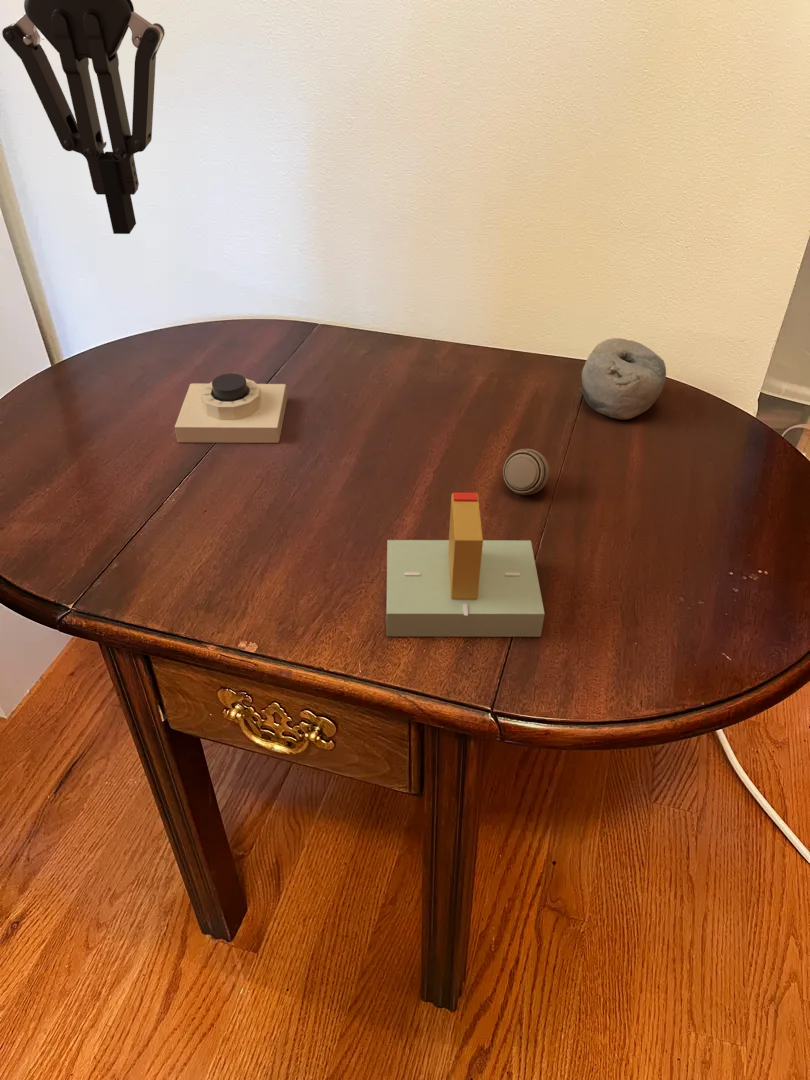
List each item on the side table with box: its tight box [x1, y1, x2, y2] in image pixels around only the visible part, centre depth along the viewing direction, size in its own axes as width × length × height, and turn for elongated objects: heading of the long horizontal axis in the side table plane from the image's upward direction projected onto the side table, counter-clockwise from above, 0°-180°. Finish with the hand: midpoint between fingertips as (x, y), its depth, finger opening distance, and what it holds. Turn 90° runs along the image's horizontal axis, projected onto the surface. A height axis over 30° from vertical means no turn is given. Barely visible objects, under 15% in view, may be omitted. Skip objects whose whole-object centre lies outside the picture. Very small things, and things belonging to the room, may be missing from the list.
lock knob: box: [448, 492, 484, 599], centre depth 75 cm, size 6×2×7 cm, turn 0°
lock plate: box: [385, 539, 546, 638], centre depth 79 cm, size 14×11×3 cm
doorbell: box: [174, 377, 288, 444], centre depth 101 cm, size 12×10×4 cm
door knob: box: [502, 448, 550, 496], centre depth 91 cm, size 5×5×5 cm
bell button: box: [211, 372, 248, 402], centre depth 100 cm, size 4×4×2 cm
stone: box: [581, 337, 667, 420], centre depth 104 cm, size 10×10×10 cm
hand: (124, 228), depth 79 cm, fingers closed
